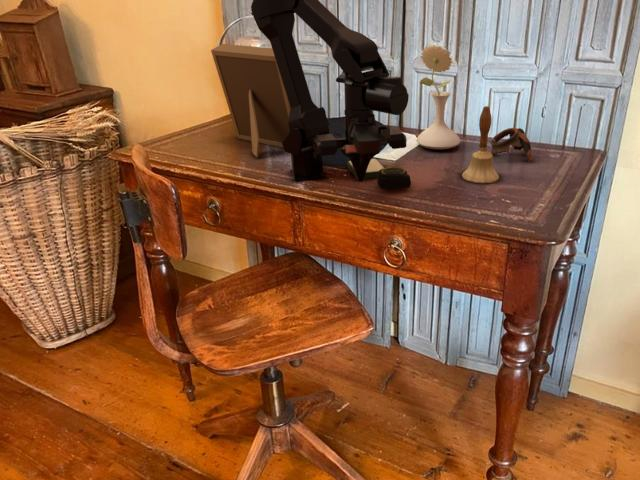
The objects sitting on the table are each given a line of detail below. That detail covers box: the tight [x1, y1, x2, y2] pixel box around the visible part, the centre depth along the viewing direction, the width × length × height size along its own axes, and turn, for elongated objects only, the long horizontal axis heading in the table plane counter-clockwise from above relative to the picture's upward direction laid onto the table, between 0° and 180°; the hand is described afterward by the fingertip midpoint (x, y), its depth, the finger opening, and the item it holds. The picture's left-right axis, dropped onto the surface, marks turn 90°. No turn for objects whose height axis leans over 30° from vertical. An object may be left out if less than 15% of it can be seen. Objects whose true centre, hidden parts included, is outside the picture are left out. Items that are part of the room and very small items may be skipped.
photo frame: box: [210, 43, 291, 158], centre depth 146 cm, size 15×22×25 cm
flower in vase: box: [416, 44, 461, 151], centre depth 145 cm, size 13×11×25 cm
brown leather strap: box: [490, 127, 533, 162], centre depth 142 cm, size 12×10×8 cm
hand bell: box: [461, 105, 500, 184], centre depth 127 cm, size 8×8×16 cm
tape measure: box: [376, 166, 412, 191], centre depth 125 cm, size 7×7×4 cm
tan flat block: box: [346, 158, 384, 181], centre depth 134 cm, size 7×9×2 cm
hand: (360, 181), depth 122 cm, fingers closed
